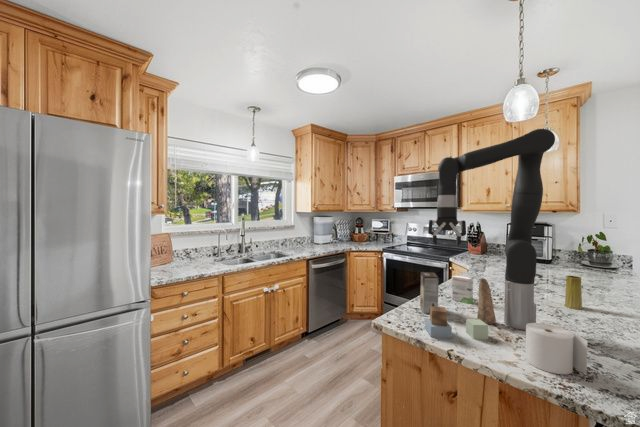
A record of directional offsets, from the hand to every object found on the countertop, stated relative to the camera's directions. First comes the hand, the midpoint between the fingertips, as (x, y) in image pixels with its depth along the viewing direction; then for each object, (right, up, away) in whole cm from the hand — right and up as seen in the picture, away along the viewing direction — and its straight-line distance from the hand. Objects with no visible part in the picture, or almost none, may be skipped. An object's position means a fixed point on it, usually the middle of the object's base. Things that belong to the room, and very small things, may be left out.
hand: (446, 244), depth 115 cm
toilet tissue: (+14, -31, -35) cm, 49 cm away
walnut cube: (-10, -27, -15) cm, 32 cm away
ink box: (+17, -30, +21) cm, 41 cm away
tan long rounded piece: (+14, -31, -5) cm, 34 cm away
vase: (+65, -31, +13) cm, 73 cm away
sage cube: (+3, -31, -17) cm, 35 cm away
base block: (-10, -31, -16) cm, 36 cm away
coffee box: (-4, -30, +8) cm, 31 cm away
